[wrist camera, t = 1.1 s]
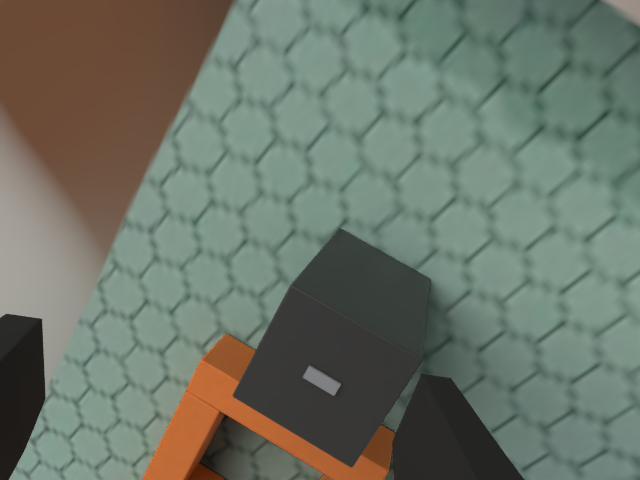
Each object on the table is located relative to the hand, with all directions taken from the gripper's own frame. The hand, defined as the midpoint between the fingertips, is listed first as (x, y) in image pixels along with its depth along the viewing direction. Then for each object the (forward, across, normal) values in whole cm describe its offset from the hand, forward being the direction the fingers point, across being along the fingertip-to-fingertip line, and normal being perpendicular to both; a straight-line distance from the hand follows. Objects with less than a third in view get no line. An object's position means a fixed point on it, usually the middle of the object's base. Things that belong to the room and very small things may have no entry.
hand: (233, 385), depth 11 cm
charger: (+10, -5, +4) cm, 12 cm away
